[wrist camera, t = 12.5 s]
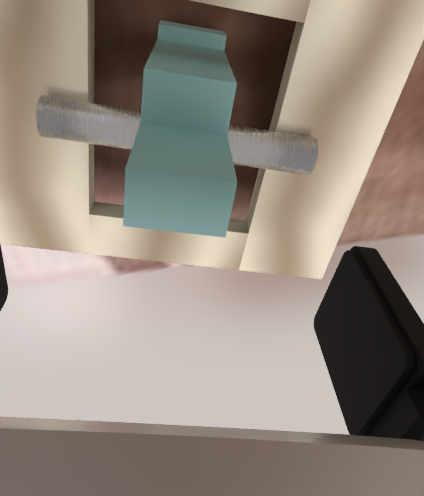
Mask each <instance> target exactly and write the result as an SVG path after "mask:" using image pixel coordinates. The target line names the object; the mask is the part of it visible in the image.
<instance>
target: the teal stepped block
mask: <svg viewBox="0 0 424 496" xmlns="http://www.w3.org/2000/svg"><path fill="white" fill-rule="evenodd" d="M226 38H227V35H226V33H225V32H224V31H219V30H213V29H208V28H202V27H196V26H191V25H185V24H180V23H174V22H169V21H163V20H161V21H160V23H159V27H158V39H157V41H156V44H155V46H154V48H153V50H152V52H151V54H150V56H149V58H148V60H147V62H146V64H145V67H144V72H143V89H142V106H141V123H140V126H139V129H138V132H137V135H136V138H135V141H134V144H133V147H132V150H131V153H130V156H129V159H128V162H127V165H126V168H125V191H124V216H123V226H127V227H136V228H144V229H153V230H162V231H171V232H180V233H189V234H198V235H207V236H216V237H224V238H226V234H227V229H228V224H229V220H230V215H231V211H232V206H233V202H234V197H235V192H236V188H237V178H236V173H235V169H234V164H233V159H232V154H231V150H230V145H229V140H228V136H227V135H228V129H229V124H230V119H231V113H232V108H233V103H234V97H235V92H236V87H237V82H236V79H235V77H234V74H233V72H232V69H231V67H230V64H229V61H228V59H227V56H226V54H225V51H224V50H225V44H226Z"/></svg>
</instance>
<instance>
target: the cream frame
mask: <svg viewBox="0 0 424 496" xmlns="http://www.w3.org/2000/svg"><path fill="white" fill-rule="evenodd" d="M190 1H195V2H200V3H205V4H210V5H215V6H220V7H225V8H231V9H236V10H241V11H246V12H251V13H256V14H261V15H266V16H271V17H276V18H281V19H286V20H291V21H296V26H295V30H294V34H293V38H292V42H291V45H290V49H289V53H288V57H287V61H286V65H285V69H284V73H283V77H282V81H281V85H280V89H279V92H278V96H277V100H276V104H275V108H274V112H273V116H272V120H271V124H270V128H269V131H268V130H262V129H256V128H250V127H243V126H237V125H231V124H229V129H228V135H227V136H228V140H229V145H230V150H231V154H232V159H233V164H234V165H240V166H247V167H254V168H259V171H258V175H257V179H256V183H255V186H254V190H253V194H252V198H251V202H250V206H249V210H248V214H247V218H246V221H243V220H235V219H230V220H229V224H228V229H227V234H226V238H224V237H216V236H207V235H198V234H189V233H180V232H171V231H162V230H153V229H144V228H136V227H127V226H123V216H124V205H116V204H108V203H100V202H94V144H95V145H102V146H109V147H116V148H123V149H130V150H132V147H133V144H134V141H135V138H136V135H137V132H138V129H139V126H140V123H141V110H136V109H129V108H123V107H117V106H110V105H104V104H98V103H94V78H95V0H0V244H4V245H14V246H23V247H32V248H41V249H50V250H59V251H69V252H78V253H87V254H96V255H105V256H114V257H124V258H133V259H142V260H151V261H160V262H169V263H179V264H188V265H197V266H206V267H215V268H224V269H234V270H243V271H252V272H261V273H270V274H280V275H289V276H298V277H308V278H316V279H322V277H323V275H324V273H325V270H326V268H327V266H328V263H329V261H330V259H331V256H332V254H333V251H334V249H335V247H336V244H337V242H338V240H339V237H340V235H341V233H342V230H343V228H344V226H345V223H346V221H347V219H348V216H349V214H350V211H351V209H352V207H353V204H354V202H355V200H356V197H357V195H358V193H359V190H360V188H361V186H362V183H363V181H364V178H365V176H366V174H367V171H368V169H369V167H370V164H371V162H372V160H373V157H374V155H375V153H376V150H377V148H378V146H379V143H380V141H381V138H382V136H383V134H384V131H385V129H386V127H387V124H388V122H389V120H390V117H391V115H392V113H393V110H394V108H395V105H396V103H397V101H398V98H399V96H400V94H401V91H402V89H403V87H404V84H405V82H406V80H407V77H408V75H409V72H410V70H411V68H412V65H413V63H414V61H415V58H416V56H417V54H418V51H419V49H420V47H421V44H422V42H423V40H424V0H190Z"/></svg>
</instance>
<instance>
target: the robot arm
mask: <svg viewBox="0 0 424 496" xmlns="http://www.w3.org/2000/svg"><path fill="white" fill-rule="evenodd" d="M7 295H8V285H7V280H6V274H5V268H4V263H3V257H2V251H1V245H0V311H1V309H2V307H3V305H4V303H5V301H6V299H7ZM314 329H315V332H316V335H317V338H318V341H319V344H320V347H321V350H322V353H323V356H324V359H325V362H326V365H327V368H328V371H329V374H330V377H331V380H332V383H333V387H334V390H335V392H336V395H337V399H338V402H339V405H340V408H341V411H342V413H343V417H344V420H345V423H346V425H347V429H348V431H349V433H350V435H344V434H326V433H309V432H308V433H307V432H291V431H274V430H255V429H239V428H219V427H200V426H181V425H162V424H142V423H122V422H102V421H100V422H99V421H81V420H59V419H37V418H16V417H0V496H424V324H423V322H422V321H421V319H420V317H419V316H418V314H417V313H416V311H415V310H414V308H413V307H412V305H411V303H410V302H409V300H408V298H407V297H406V295H405V294H404V292H403V291H402V289H401V287H400V286H399V284H398V283H397V281H396V279H395V278H394V276H393V275H392V274H391V272H390V270H389V269H388V267H387V265H386V264H385V262H384V261H383V259H382V258H381V256H380V254H379V253H378V251H377V250H376V249H374V248H367V247H358V246H354V247H353V248H351V250H350V251H349V250H348V251H346V252H345V253H344V255H343V256H342V259H341V261H340V263H339V265H338V267H337V269H336V272H335V274H334V276H333V278H332V280H331V283H330V285H329V287H328V289H327V292H326V293H325V296H324V298H323V300H322V302H321V305H320V307H319V309H318V311H317V313H316V315H315V318H314Z"/></svg>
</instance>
